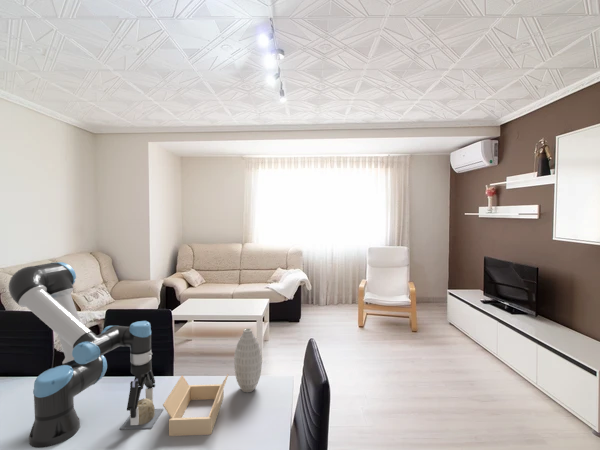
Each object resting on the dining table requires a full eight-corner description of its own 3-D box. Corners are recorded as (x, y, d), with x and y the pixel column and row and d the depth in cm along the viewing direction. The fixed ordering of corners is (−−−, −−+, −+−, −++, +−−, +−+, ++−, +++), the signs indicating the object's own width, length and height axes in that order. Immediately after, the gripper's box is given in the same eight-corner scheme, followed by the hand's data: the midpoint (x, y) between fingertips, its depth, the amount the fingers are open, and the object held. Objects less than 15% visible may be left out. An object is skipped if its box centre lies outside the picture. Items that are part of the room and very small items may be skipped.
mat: (119, 429, 123) (119, 428, 123) (134, 410, 135) (134, 409, 135) (151, 428, 123) (151, 427, 123) (163, 409, 135) (163, 408, 135)
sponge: (137, 436, 124) (150, 417, 123) (119, 419, 126) (131, 401, 124) (153, 420, 133) (165, 403, 132) (136, 405, 135) (147, 388, 133)
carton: (162, 436, 119) (161, 406, 118) (183, 398, 143) (182, 373, 143) (218, 434, 120) (217, 404, 119) (229, 397, 144) (229, 372, 144)
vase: (259, 396, 144) (259, 334, 143) (231, 396, 144) (230, 334, 144) (263, 381, 157) (263, 325, 156) (237, 381, 157) (236, 325, 156)
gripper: (136, 376, 116) (137, 434, 117) (162, 348, 141) (163, 395, 141) (115, 377, 116) (116, 435, 116) (145, 348, 140) (146, 396, 141)
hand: (142, 413), depth 129 cm, fingers open, 13 cm apart
